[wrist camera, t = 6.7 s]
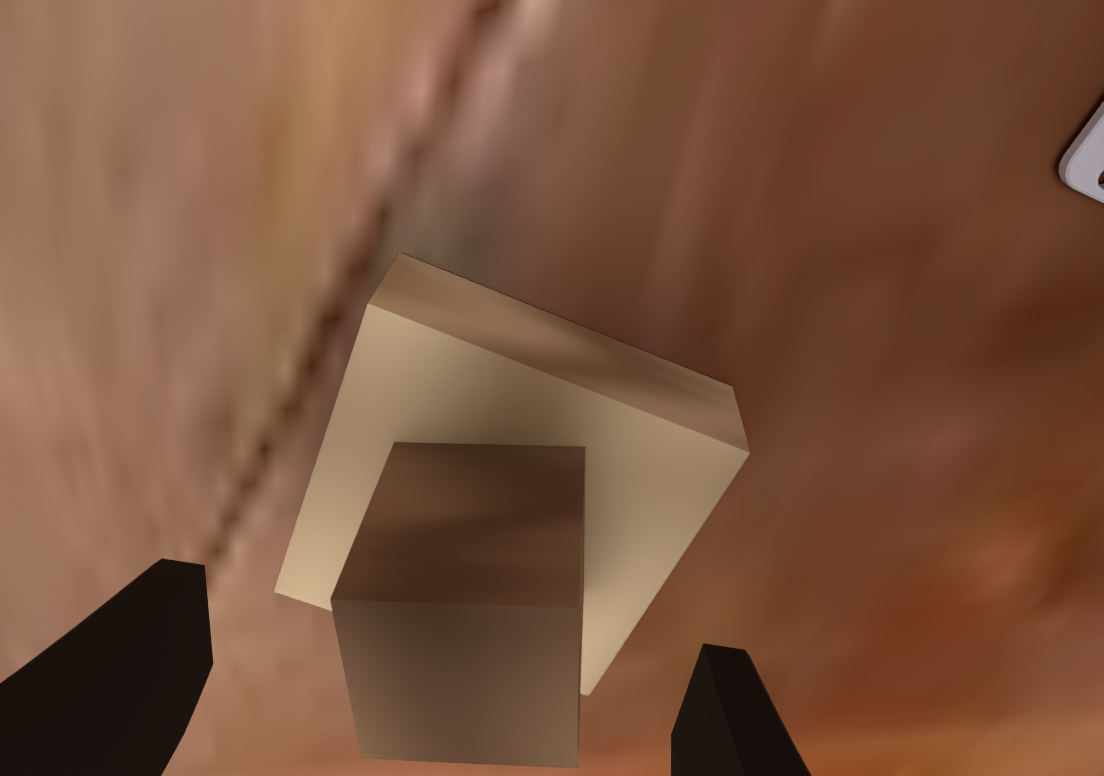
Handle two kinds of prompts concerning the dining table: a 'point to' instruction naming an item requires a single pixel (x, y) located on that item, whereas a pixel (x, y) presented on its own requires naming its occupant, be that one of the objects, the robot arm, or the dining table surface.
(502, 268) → the dining table surface
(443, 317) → the base block
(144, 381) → the dining table surface
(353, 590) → the walnut block
